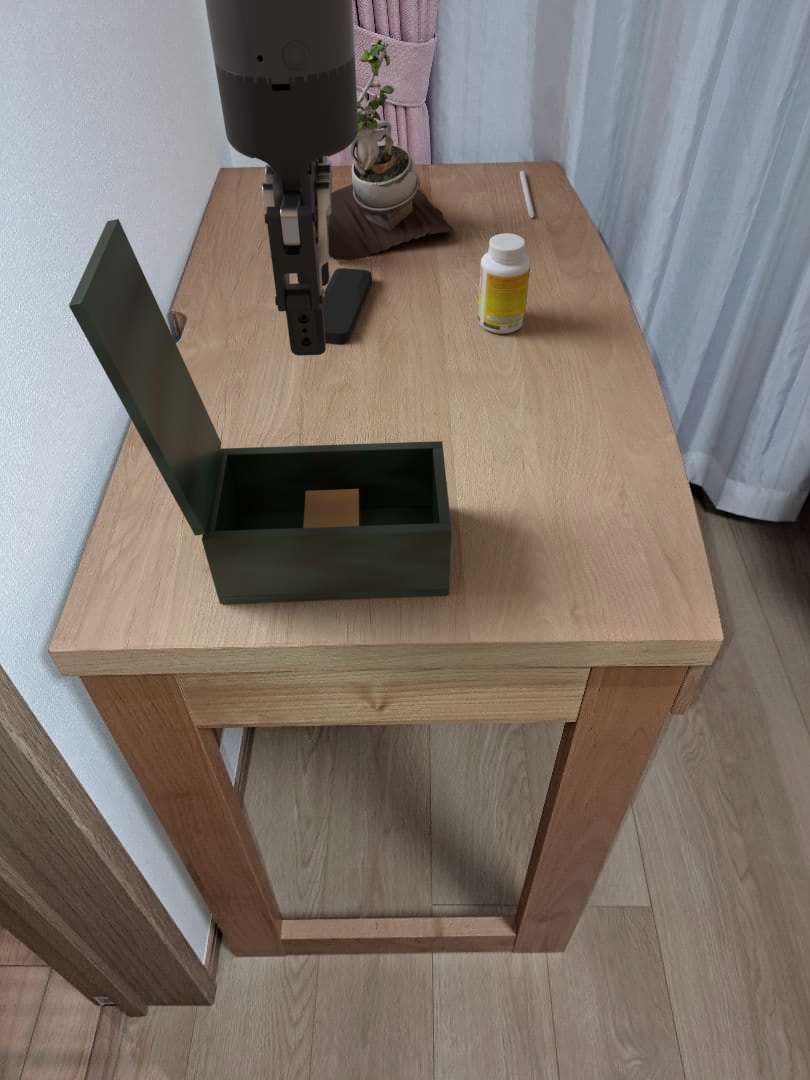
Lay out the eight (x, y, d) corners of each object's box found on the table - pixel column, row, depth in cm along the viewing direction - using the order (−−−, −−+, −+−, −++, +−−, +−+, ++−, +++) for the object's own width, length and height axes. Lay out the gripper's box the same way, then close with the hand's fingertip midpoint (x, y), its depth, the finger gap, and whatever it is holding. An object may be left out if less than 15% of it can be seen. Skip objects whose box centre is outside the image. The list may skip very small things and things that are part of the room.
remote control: (347, 348, 95) (374, 278, 105) (346, 335, 94) (373, 266, 104) (306, 344, 96) (336, 275, 106) (305, 331, 95) (335, 263, 104)
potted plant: (465, 252, 115) (442, 82, 93) (344, 310, 113) (291, 152, 92) (405, 173, 124) (371, 3, 102) (293, 226, 123) (234, 66, 101)
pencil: (528, 217, 116) (518, 172, 126) (531, 222, 116) (521, 177, 126) (533, 214, 115) (523, 169, 126) (536, 219, 116) (526, 174, 126)
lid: (118, 218, 56) (106, 220, 56) (81, 303, 48) (68, 305, 48) (221, 443, 70) (212, 444, 70) (205, 534, 63) (194, 536, 63)
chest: (440, 506, 77) (442, 440, 71) (449, 595, 69) (451, 530, 64) (233, 513, 76) (218, 448, 71) (219, 604, 69) (201, 539, 63)
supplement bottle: (532, 329, 97) (542, 247, 89) (490, 340, 95) (496, 257, 88) (510, 306, 100) (517, 225, 93) (469, 316, 99) (473, 235, 92)
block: (362, 564, 71) (359, 526, 67) (308, 566, 71) (302, 529, 67) (361, 525, 74) (359, 488, 70) (310, 527, 74) (305, 490, 70)
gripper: (228, 11, 49) (264, 265, 61) (194, 96, 39) (246, 380, 51) (355, 8, 49) (366, 263, 61) (353, 93, 39) (367, 377, 51)
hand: (311, 316), depth 56 cm, fingers open, 8 cm apart
